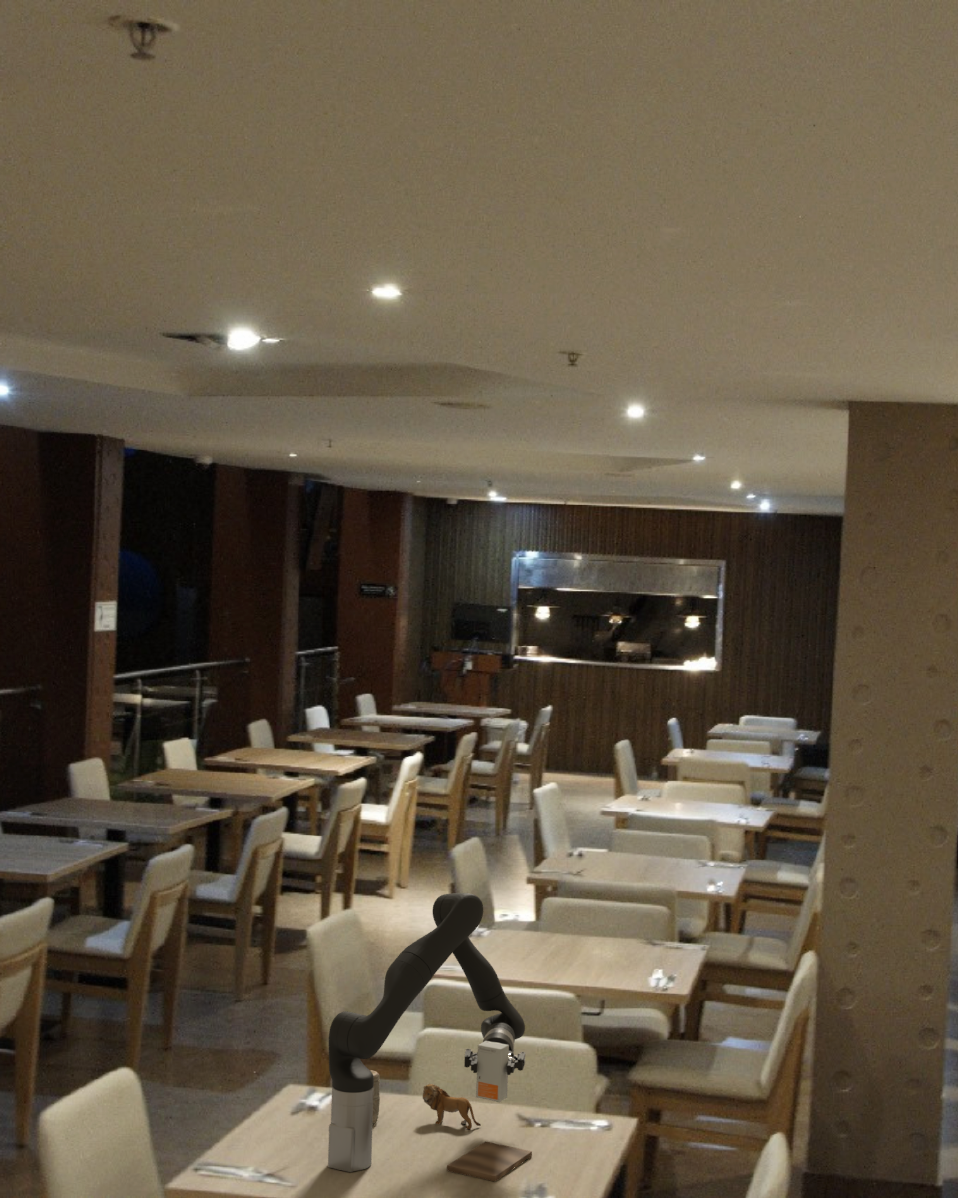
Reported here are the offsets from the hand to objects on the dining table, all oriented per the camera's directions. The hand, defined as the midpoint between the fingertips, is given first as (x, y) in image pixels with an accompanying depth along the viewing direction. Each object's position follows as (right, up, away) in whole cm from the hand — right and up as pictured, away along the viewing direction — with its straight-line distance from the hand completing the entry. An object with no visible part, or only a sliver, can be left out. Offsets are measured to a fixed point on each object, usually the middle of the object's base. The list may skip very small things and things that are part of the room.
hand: (492, 1069), depth 348 cm
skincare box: (0, -7, +2) cm, 8 cm away
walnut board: (0, -22, +2) cm, 22 cm away
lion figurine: (-10, -22, +28) cm, 37 cm away
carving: (-30, -21, +27) cm, 46 cm away
